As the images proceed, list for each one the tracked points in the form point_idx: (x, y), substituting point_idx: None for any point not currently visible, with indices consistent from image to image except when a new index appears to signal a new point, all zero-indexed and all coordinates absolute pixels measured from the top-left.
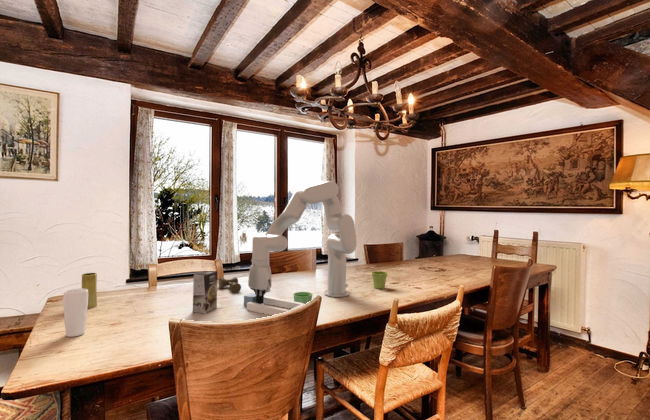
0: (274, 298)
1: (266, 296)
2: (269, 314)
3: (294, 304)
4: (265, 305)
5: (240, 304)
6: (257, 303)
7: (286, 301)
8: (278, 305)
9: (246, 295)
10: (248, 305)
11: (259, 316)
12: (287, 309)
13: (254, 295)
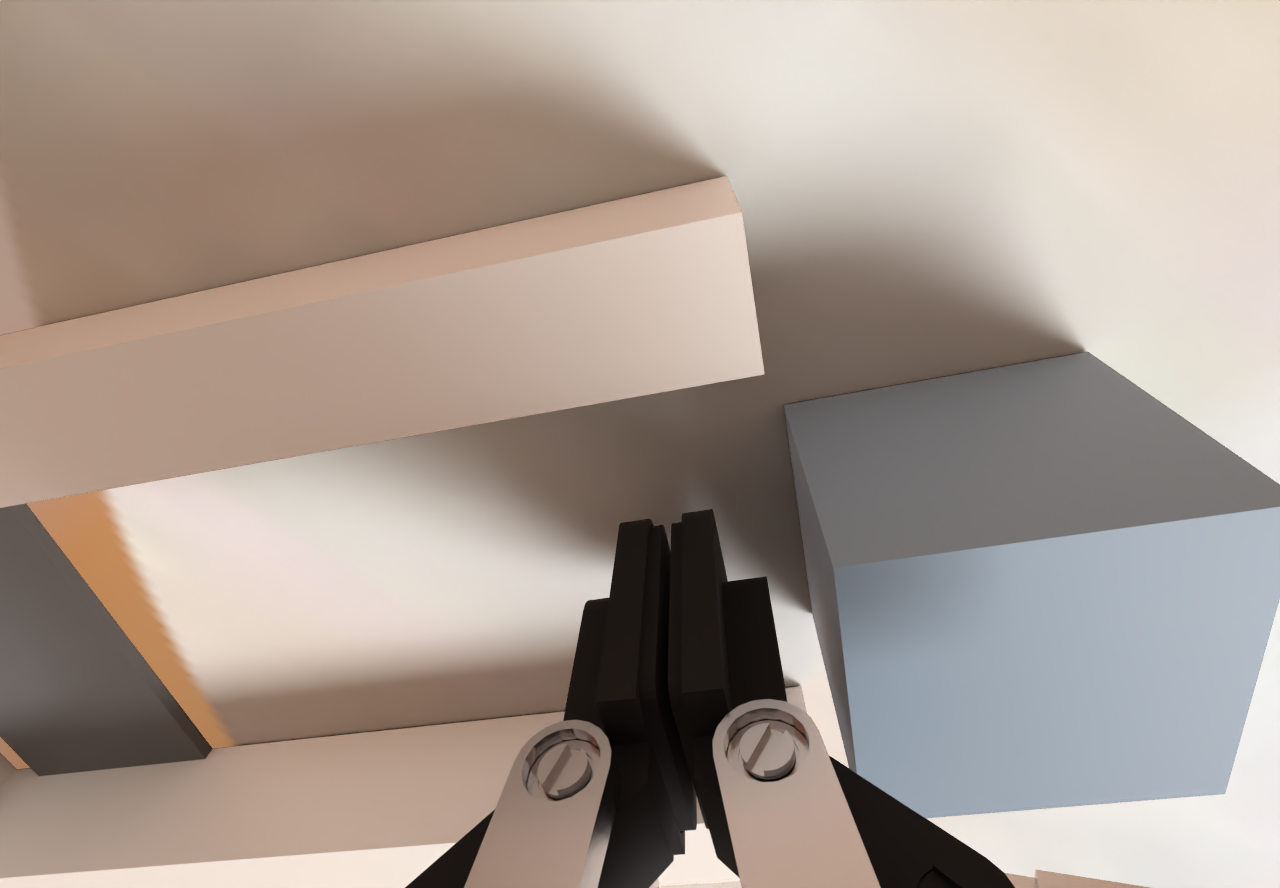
0: None
1: None
2: (21, 333)
3: (53, 848)
4: (116, 453)
5: (1243, 351)
6: (433, 420)
7: (211, 865)
8: (430, 744)
9: (1211, 570)
10: (661, 214)
11: (5, 71)
12: (163, 709)
13: (937, 712)
